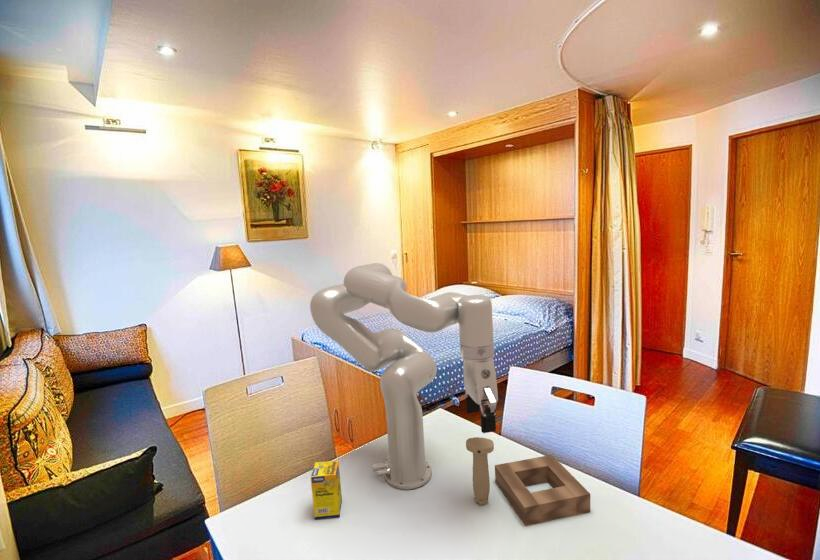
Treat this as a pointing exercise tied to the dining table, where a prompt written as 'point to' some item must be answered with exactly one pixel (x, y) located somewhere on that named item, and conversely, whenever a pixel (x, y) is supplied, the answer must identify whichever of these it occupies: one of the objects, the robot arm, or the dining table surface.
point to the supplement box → (326, 490)
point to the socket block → (546, 503)
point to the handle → (480, 467)
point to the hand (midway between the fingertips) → (480, 421)
